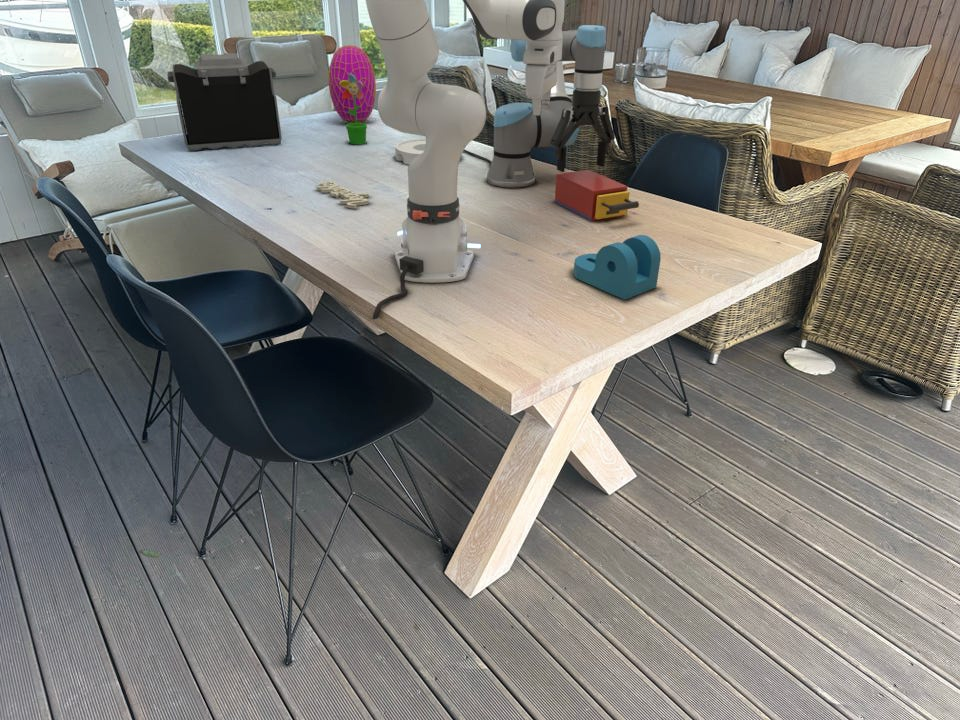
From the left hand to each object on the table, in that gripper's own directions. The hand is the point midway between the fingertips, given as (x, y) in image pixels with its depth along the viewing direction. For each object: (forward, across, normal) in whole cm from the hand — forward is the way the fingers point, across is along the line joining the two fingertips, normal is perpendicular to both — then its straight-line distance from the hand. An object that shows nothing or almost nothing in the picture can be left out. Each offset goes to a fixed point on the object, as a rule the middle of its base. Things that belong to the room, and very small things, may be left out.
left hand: (541, 111), depth 174 cm
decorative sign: (+28, -2, -59) cm, 65 cm away
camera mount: (+28, +36, +25) cm, 52 cm away
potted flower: (+29, -63, -84) cm, 109 cm away
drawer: (+28, -9, +16) cm, 33 cm away
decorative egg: (+30, -96, -101) cm, 143 cm away
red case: (+29, -13, +12) cm, 34 cm away
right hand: (+18, -17, +9) cm, 27 cm away
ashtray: (+29, -51, -51) cm, 78 cm away
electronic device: (+29, -49, -129) cm, 141 cm away
